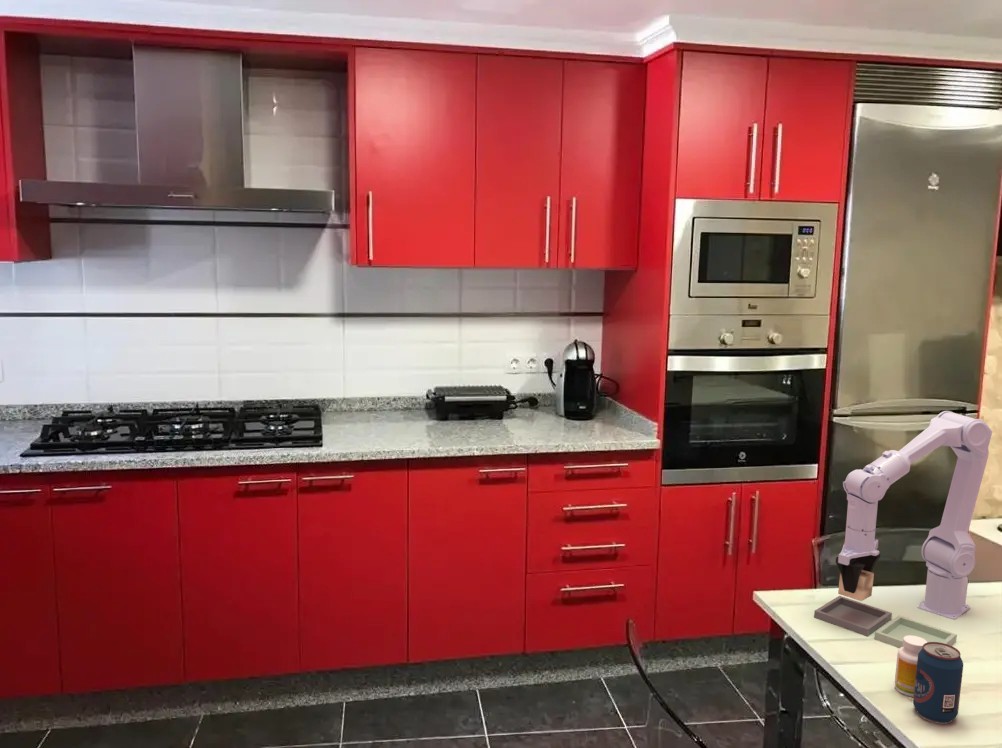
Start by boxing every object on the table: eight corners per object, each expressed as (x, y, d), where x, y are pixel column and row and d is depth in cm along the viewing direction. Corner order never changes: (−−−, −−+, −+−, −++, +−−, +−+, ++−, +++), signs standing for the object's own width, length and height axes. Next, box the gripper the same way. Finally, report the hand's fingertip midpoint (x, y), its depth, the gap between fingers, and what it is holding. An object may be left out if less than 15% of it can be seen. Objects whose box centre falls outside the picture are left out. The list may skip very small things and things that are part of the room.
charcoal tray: (838, 603, 189) (839, 595, 189) (891, 620, 181) (892, 612, 180) (813, 618, 181) (814, 610, 181) (867, 637, 173) (868, 629, 173)
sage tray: (897, 623, 180) (898, 615, 179) (956, 642, 171) (956, 634, 171) (874, 640, 172) (875, 631, 172) (933, 661, 164) (934, 652, 163)
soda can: (904, 703, 149) (910, 640, 147) (942, 702, 149) (948, 639, 147) (926, 726, 142) (933, 660, 140) (966, 725, 142) (973, 659, 140)
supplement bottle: (930, 699, 150) (936, 649, 148) (898, 696, 151) (903, 645, 150) (922, 684, 155) (927, 635, 154) (891, 680, 156) (895, 631, 155)
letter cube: (848, 588, 184) (851, 565, 183) (871, 595, 180) (874, 572, 179) (837, 594, 180) (839, 571, 179) (860, 601, 176) (863, 578, 176)
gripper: (864, 540, 170) (858, 603, 172) (894, 524, 180) (888, 584, 182) (830, 531, 175) (825, 592, 177) (861, 515, 185) (856, 574, 187)
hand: (855, 587), depth 180 cm, fingers closed on letter cube, 5 cm apart
